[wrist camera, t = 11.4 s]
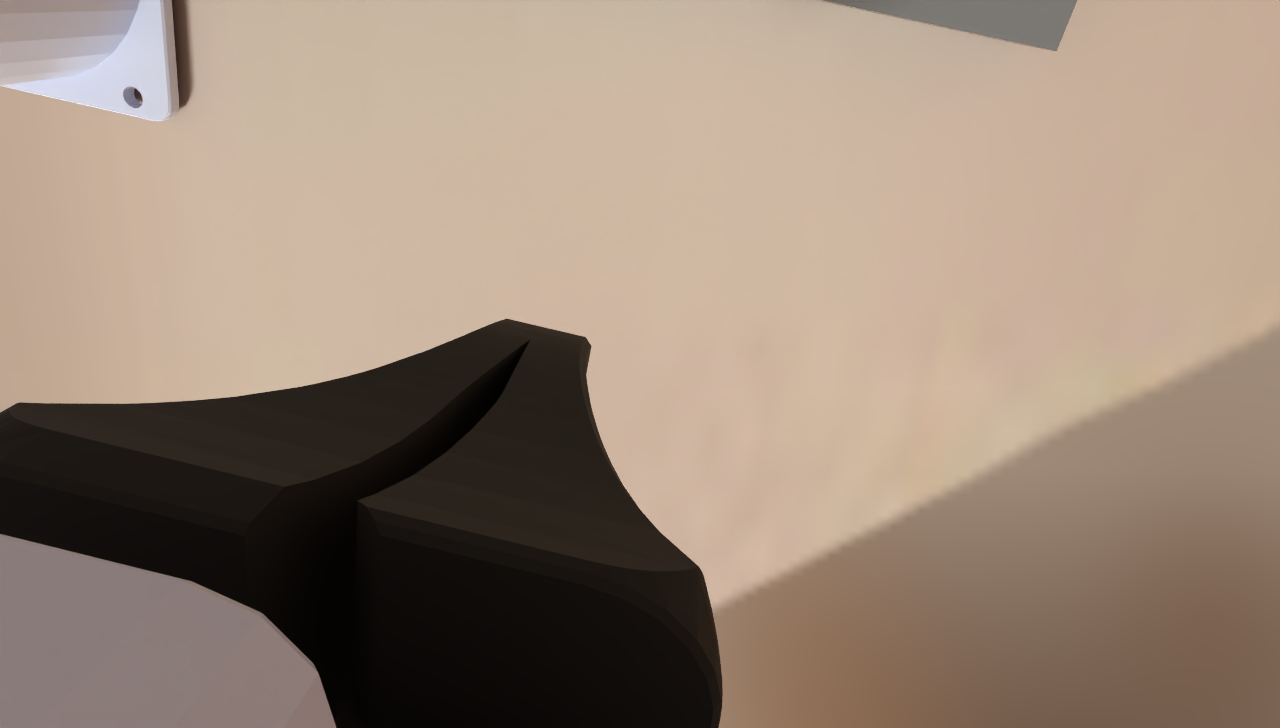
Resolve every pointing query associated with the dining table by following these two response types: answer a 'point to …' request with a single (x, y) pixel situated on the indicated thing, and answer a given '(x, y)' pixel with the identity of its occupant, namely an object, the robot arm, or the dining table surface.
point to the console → (983, 17)
